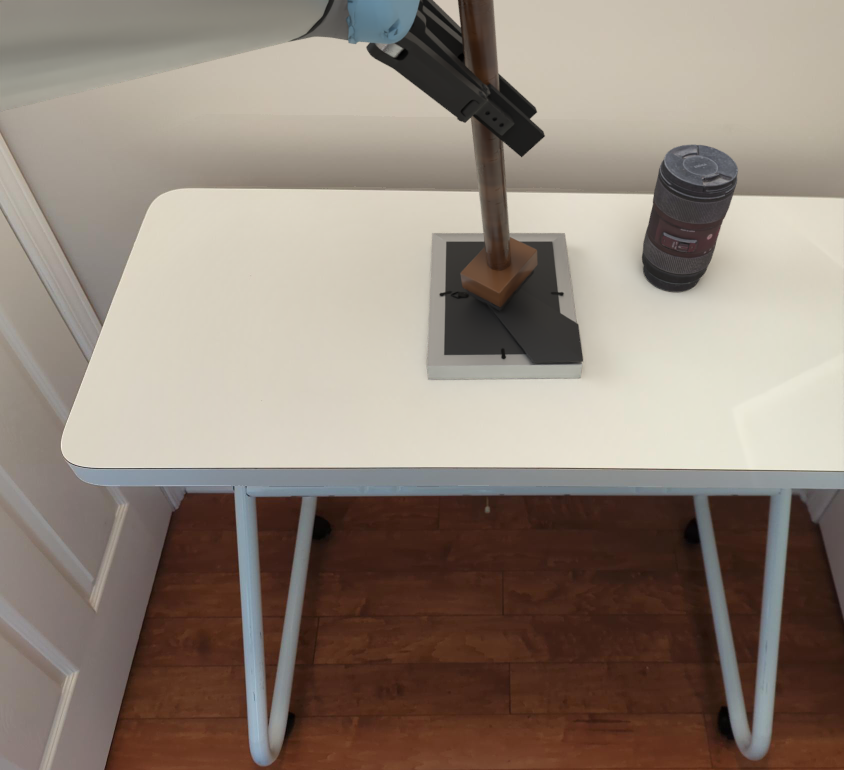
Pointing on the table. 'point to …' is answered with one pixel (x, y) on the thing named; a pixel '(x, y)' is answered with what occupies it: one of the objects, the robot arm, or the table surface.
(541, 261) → the picture frame
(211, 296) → the table surface
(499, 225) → the brown piece
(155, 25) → the robot arm
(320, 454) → the table surface
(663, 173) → the camera lens
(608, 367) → the table surface
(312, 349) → the table surface
